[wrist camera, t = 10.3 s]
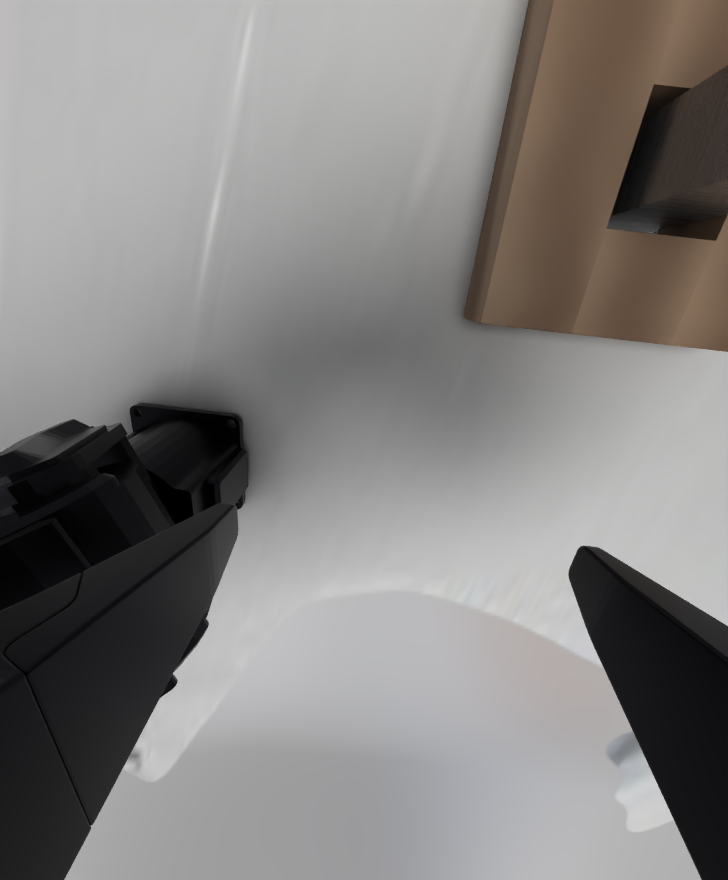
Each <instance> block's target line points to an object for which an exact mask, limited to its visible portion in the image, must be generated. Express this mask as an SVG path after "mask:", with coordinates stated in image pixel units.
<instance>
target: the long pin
mask: <svg viewBox="0 0 728 880" xmlns="http://www.w3.org/2000/svg"><path fill="white" fill-rule="evenodd" d="M727 214H728V65H727V66H725V67H724V68H722V69H721V70H719V71H718V72H716V73H715V74H713V75H712V76H710V77H709V78H707V79H705V80H704V81H702V82H701V83H699V84H698V85H696V86H695V87H693V88H692V89H690V90H688V91H687V92H685V93H684V94H682V95H681V96H679V97H678V98H676V99H675V100H673V101H672V102H670V103H668V104H667V105H665V106H664V107H662V108H661V109H659V110H658V111H656V112H655V113H653V114H651V115H650V116H648V117H647V118H645V119H644V120H642V122H641V125H640V128H639V131H638V134H637V137H636V140H635V143H634V146H633V149H632V152H631V155H630V158H629V161H628V164H627V167H626V170H625V173H624V177H623V180H622V183H621V186H620V189H619V192H618V195H617V198H616V201H615V204H614V207H613V210H612V213H611V216H610V219H609V222H608V225H607V228H606V229H615V230H624V231H635V232H648V231H653V230H657V229H662V228H667V227H671V226H676V225H681V224H685V223H690V222H695V221H699V220H704V219H708V218H713V217H718V216H722V215H727Z"/></svg>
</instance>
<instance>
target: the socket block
mask: <svg viewBox="0 0 728 880" xmlns="http://www.w3.org/2000/svg"><path fill="white" fill-rule="evenodd" d="M727 65H728V0H529V3H528V8H527V13H526V17H525V22H524V27H523V32H522V37H521V42H520V47H519V51H518V56H517V61H516V66H515V71H514V76H513V80H512V85H511V90H510V95H509V100H508V105H507V110H506V114H505V119H504V124H503V129H502V134H501V139H500V143H499V148H498V153H497V158H496V163H495V168H494V172H493V177H492V182H491V187H490V192H489V197H488V202H487V206H486V211H485V216H484V221H483V226H482V231H481V235H480V240H479V245H478V250H477V255H476V260H475V265H474V269H473V274H472V279H471V284H470V289H469V294H468V298H467V303H466V308H465V313H464V318H467V319H470V320H473V321H475V322H478V323H482V324H490V325H499V326H508V327H517V328H525V329H534V330H543V331H552V332H560V333H569V334H578V335H586V336H595V337H604V338H613V339H621V340H630V341H639V342H648V343H656V344H665V345H674V346H683V347H691V348H700V349H709V350H717V351H726V352H728V214H727V215H722V216H718V217H713V218H708V219H704V220H699V221H695V222H690V223H685V224H681V225H676V226H671V227H667V228H662V229H660V230H659V233H658V234H650V233H641V232H632V231H624V230H615V229H606V228H607V225H608V222H609V219H610V216H611V213H612V210H613V207H614V204H615V201H616V198H617V195H618V192H619V189H620V186H621V183H622V180H623V177H624V173H625V170H626V167H627V164H628V161H629V158H630V155H631V152H632V149H633V146H634V143H635V140H636V137H637V134H638V131H639V128H640V125H641V122H642V120H644V119H645V118H647V117H648V116H650V115H651V114H653V113H655V112H656V111H658V110H659V109H661V108H662V107H664V106H665V105H667V104H668V103H670V102H672V101H673V100H675V99H676V98H678V97H679V96H681V95H682V94H684V93H685V92H687V91H688V90H690V89H692V88H693V87H695V86H696V85H698V84H699V83H701V82H702V81H704V80H705V79H707V78H709V77H710V76H712V75H713V74H715V73H716V72H718V71H719V70H721V69H722V68H724V67H725V66H727Z"/></svg>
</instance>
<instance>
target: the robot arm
mask: <svg viewBox="0 0 728 880" xmlns="http://www.w3.org/2000/svg"><path fill="white" fill-rule="evenodd" d="M138 409H139V410H141V411H142V413H143V415H141V414H140V413H139V411H138ZM130 416H131V422H132V427H133V433H131V434H130V435H128V436H126V435H127V432H126V431H125V429H124V427H123V426H122V424H121V423H119V424H115V425H112V426H108V427H106V426H105V425H102V426H98V427H93V426H91V427H90V426H87V425H85V424H83V423H81V422H79V421H77V420H74V419H72V420H69V421H66V422H63V423H60V424H58V425H55V426H53V427H50V428H48V429H46V430H43V431H41V432H38V433H36V434H34V435H31V436H29V437H27V438H25V439H23V440H21V441H19V442H17V443H15V444H14V445H12V446H10V447H9V448H7V449H6V450H4V451H2V452H1V453H0V880H64V879H65V877H66V875H67V873H68V871H69V870H70V868H71V866H72V864H73V862H74V860H75V858H76V856H77V854H78V852H79V851H80V849H81V847H82V845H83V843H84V841H85V839H86V837H87V836H88V834H89V832H90V830H91V825H93V823H94V822H95V820H96V818H97V816H98V814H99V812H100V810H101V808H102V807H103V805H104V803H105V801H106V799H107V797H108V795H109V793H110V791H111V789H112V788H113V786H114V784H115V782H116V780H117V778H118V776H119V774H120V772H121V771H122V769H123V767H124V765H125V763H126V761H127V759H128V757H129V755H130V754H131V752H132V750H133V748H134V746H135V744H136V742H137V740H138V738H139V736H140V735H141V733H142V731H143V729H144V727H145V725H146V723H147V721H148V719H149V718H150V716H151V714H152V712H153V710H154V708H155V706H156V704H157V702H158V700H159V699H160V697H162V696H163V695H165V694H166V693H168V692H169V691H170V690H172V689H173V688H174V687H175V686H176V684H177V679H176V677H175V676H174V675H173V672H174V671H175V670H176V669H177V668H178V667H179V666H180V665H181V664H182V663H183V661H184V660H185V659H186V658H187V656H188V655H189V654H190V653H191V652H192V651H193V649H194V648H195V647H196V646H197V644H198V643H199V641H200V640H201V638H202V636H203V635H204V633H205V632H206V630H207V628H208V625H209V622H208V620H207V619H206V617H207V615H208V612H209V609H210V605H211V602H212V599H213V596H214V594H215V592H216V590H217V587H218V585H219V582H220V580H221V577H222V575H223V572H224V570H225V567H226V565H227V562H228V560H229V557H230V554H231V552H232V549H233V547H234V544H235V542H236V539H237V535H238V516H237V509H240V508H241V507H242V506H243V504H244V503H245V490H246V488H247V487H248V463H247V451H246V450H245V449H244V448H243V432H242V420H241V418H240V417H239V416H238V415H236V414H230V413H222V412H213V411H205V410H196V409H187V408H179V407H170V406H162V405H153V404H144V403H138V404H136V405H134V406H132V407H131V409H130ZM230 420H232V421H234V422H235V424H236V425H235V426H233V425H231V424H230ZM237 501H238V502H239V503H237ZM569 580H570V583H571V586H572V588H573V591H574V594H575V597H576V600H577V603H578V606H579V608H580V611H581V614H582V617H583V620H584V623H585V626H586V628H587V631H588V633H589V636H590V638H591V641H592V643H593V645H594V648H595V650H596V652H597V654H598V656H599V658H600V661H601V663H602V665H603V667H604V669H605V671H606V674H607V676H608V678H609V680H610V682H611V684H612V686H613V689H614V691H615V693H616V695H617V697H618V700H619V701H620V704H621V706H622V708H623V710H624V713H625V715H626V717H627V719H628V721H629V723H630V725H631V728H632V730H633V732H634V734H635V736H636V739H637V741H638V743H639V745H640V747H641V749H642V752H643V754H644V756H645V758H646V760H647V762H648V765H649V767H650V769H651V771H652V773H653V775H654V778H655V780H656V782H657V784H658V786H659V788H660V791H661V793H662V795H663V797H664V799H665V801H666V804H667V806H668V808H669V810H670V812H671V814H672V817H673V819H674V821H675V823H676V825H677V827H678V829H679V832H680V834H681V836H682V838H683V840H684V842H685V844H686V847H687V849H688V851H689V853H690V855H691V858H692V860H693V862H694V864H695V866H696V868H697V870H698V873H699V875H700V877H701V879H702V880H728V626H727V625H725V624H723V623H722V622H720V621H718V620H717V619H715V618H713V617H712V616H710V615H709V614H707V613H705V612H704V611H702V610H700V609H699V608H697V607H695V606H694V605H692V604H690V603H689V602H687V601H686V600H684V599H682V598H681V597H679V596H677V595H676V594H674V593H672V592H671V591H669V590H668V589H666V588H664V587H663V586H661V585H659V584H658V583H656V582H654V581H653V580H651V579H650V578H648V577H646V576H645V575H643V574H641V573H640V572H638V571H636V570H635V569H633V568H631V567H630V566H628V565H627V564H625V563H623V562H622V561H620V560H618V559H617V558H615V557H613V556H612V555H610V554H609V553H607V552H605V551H604V550H602V549H600V548H598V547H591V546H581V547H580V548H579V549H578V550H577V553H576V555H575V557H574V559H573V562H572V564H571V566H570V569H569Z"/></svg>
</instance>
